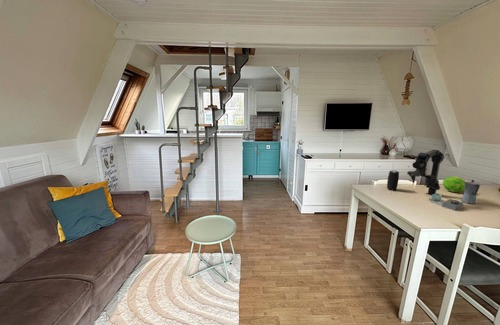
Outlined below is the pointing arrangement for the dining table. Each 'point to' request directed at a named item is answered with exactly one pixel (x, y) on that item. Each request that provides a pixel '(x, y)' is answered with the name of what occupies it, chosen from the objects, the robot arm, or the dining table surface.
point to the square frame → (448, 203)
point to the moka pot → (470, 192)
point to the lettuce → (454, 184)
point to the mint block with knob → (436, 196)
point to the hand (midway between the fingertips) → (418, 184)
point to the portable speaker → (392, 180)
